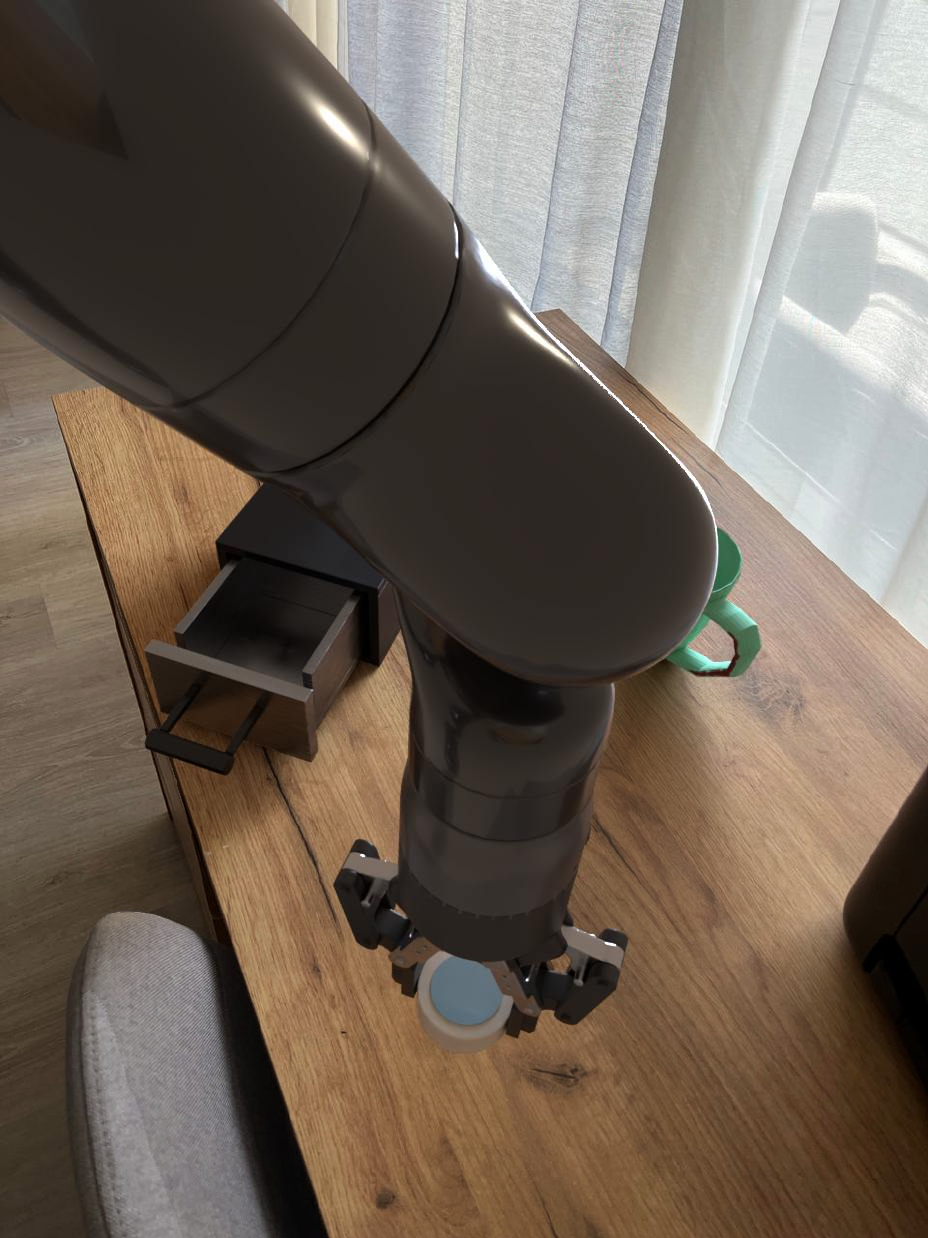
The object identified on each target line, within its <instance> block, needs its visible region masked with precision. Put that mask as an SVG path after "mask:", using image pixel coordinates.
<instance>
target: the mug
mask: <svg viewBox="0 0 928 1238" xmlns="http://www.w3.org/2000/svg"><path fill="white" fill-rule="evenodd" d="M716 530H717V537H718V564H717V571H716V577H715V581H714V585H713V589H712V591H711V594H710V597H709V600H708V602H707V604H706V607H705V609H704V611H703V613H702V614H701V616H700V618H699V620H698V621H697V623H696V624H695V626H694V627H693V628H692V630H691V631H690V633H689V634H688V635H687V636H686V637H685V639H684V640H683V641H682V642H681V643H680V644H679V645H678V646H677V647H676V648H675V649H674V650H673V651H672V652H671V653H670V654H668V655H667V656H666V657H665V658H664V659H662V660H661V661H663V660H666V661H668V662H671V663H672V664H674V665H675V666H677V667H679V668H681V669H683V670H684V671H686V672H687V673H689V674H691V675H693V676H695V677H696V678H737V677H740V676H741V675H743V674H744V673H745V672H746V671H748V669H749V667H750V666H751V664H752V663H753V661H754V660H755V658H756V656H757V655H758V653H760V650H761V649H762V647H763V642H762V639H761V634H760V629H759V625H758V623H756V622H755V621H754V620H753V619H752V618H751V616H749V615H748V614H747V613H746V612H745V611H743V610H742V609H741V608H740V607H739V606H736V605H735V604H734V603H732V602H731V601H730V600H729V599H727V598H728V596H729V595H730V594H731V592H732V591H733V589H734V587H735V586H736V585H737V583H738V581H739V580H740V578H741V574H742V572H743V571H742V570H743V561H744V558H743V556H742V553H741V551H740V550H741V549H740V547H739V545H738V544H737V543H736V542H735V540H734V539H733V537H731V536H730V534H729V533H727V532H726V531H725V530H724V529H722V528H721V527H719V526H718V525H716ZM711 621H713V622H714V623H716V624H717V625H718V626H719V627H720V628H722V630H723V631H724V632H725V633H726V634H727V635H728V636H729V637H730V638H731V639H732V643H733V650H734V654H733V656H732V658H731V660H729V661H715V660H713V659H711V658H709V657H706V656H704V655H703V654H701V653H699V652H697V651H695V650H693V649H691V648H689V647H688V646H689V645H690V644H691V643H692V642H693V641H694V640H695V639H696V638H697V637H698V636H699V634H700V633H702V631H703V630H704V629H705V628H706V627H707V626H708V625H709V623H710V622H711Z"/></svg>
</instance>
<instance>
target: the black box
mask: <svg viewBox="0 0 928 1238" xmlns="http://www.w3.org/2000/svg"><path fill="white" fill-rule="evenodd" d="M214 542H215V543H214V544H215V550H216V556H217V560H218V561H217V562H218V566H219V573H220V572H221V570H222V569H223V568H224V567H225V565H226V564H227V563H228V562H229V560H230V559H231V558H232V557H233V555H234V554H235V555H238V556H242V557H245V558H249V559H252V560H255V561H259V562H262V563H266V564H269V565H272V566H276V567H279V568H283V569H286V570H289V571H293V572H296V573H300V574H303V575H307V576H310V577H313V578H317V579H320V580H324V581H327V582H330V583H334V584H337V585H341V586H344V587H347V588H351V589H354V590H358V591H361V592H364V593H368V605H369V641H370V642H369V644H368V646H367V647H366V649H365V651H364V653H363V654H362V656H361V658H360V659H359V661H358V662H361V663H364V664H367V665H370V666H374V667H377V668H380V667H381V666H382V663H383V661H384V660H385V658H386V656H387V655H388V653H389V651H390V649H391V648H392V646H393V644H394V643H395V641H396V639H397V638H398V635H399V634H400V632H401V629H400V624H399V620H398V615H397V610H396V605H395V600H394V595H393V590H392V585H391V584H390V583H389V582H388V581H387V580H385V579H384V578H383V577H382V576H381V575H380V574H378V573H377V572H376V571H375V570H374V569H373V568H372V567H371V566H370V565H369V564H367V563H366V562H365V561H364V560H363V559H362V558H361V557H360V556H359V555H358V554H357V553H356V552H355V551H354V550H353V549H352V548H351V547H350V546H349V545H348V544H347V543H346V542H345V541H344V540H343V539H341V538H340V537H339V536H338V535H337V534H336V533H335V532H334V531H333V530H331V529H330V528H329V527H328V526H327V525H326V524H324V523H323V522H322V521H321V520H320V519H318V518H317V517H316V516H315V515H313V514H312V513H311V512H310V511H309V510H307V509H306V508H305V507H303V506H302V505H300V504H299V503H298V502H296V501H295V500H293V499H291V498H290V497H288V496H287V495H285V494H284V493H282V492H280V491H278V490H276V489H274V488H272V487H270V486H268V485H266V484H264V483H262V484H261V485H260V487H258V489H257V490H256V491H255V493H254V494H253V495H252V496H251V497H250V498H249V500H248V501H247V502H246V504H244V506H243V507H242V508H241V509H240V511H239V512H238V513H237V514H236V515H235V516H234V518H233V519H232V520H231V521H230V522H229V524H228V525H227V526H226V527H225V529H224V530H223V531H222V532H221V533H220V535H219V536H218V537H217V538H216V540H214Z"/></svg>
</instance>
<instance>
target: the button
mask: <svg viewBox="0 0 928 1238" xmlns="http://www.w3.org/2000/svg"><path fill="white" fill-rule="evenodd" d="M513 1002H514V1000H513V998H512V996H507V995H503V994H502V993H501V991H500V989H499V987H498V985H497V983H496V981H495V979H494V977H493V975H492V973H491V971H490V969H487V968H485V967H484V966H483V965H482V964H480V963H478V962H476V961H470V960H465V959H462V958H458V957H455V956H453V955H451V954H448V953H446V952H444V951H443V952H441V951H439V952H438V953H436V954H435V955H434V956H432V957H431V958H430V959H428V960H427V961H426V963H425V964H424V966H423V968H422V971H421V973H420V976H419V978H418V983H417V992H416V995H415V1009H416V1016H417V1019H418V1021H419V1024H420V1026H421V1028H422V1030H423V1032H424V1033H425V1035H426V1036H427V1038H429V1039H430V1040H431V1041H432V1043H434V1044H435V1045H437V1046H438V1047H440V1048H442V1049H443V1050H446V1051H448V1052H451V1053H454V1054H460V1055H471V1054H472V1055H473V1054H477V1053H481V1052H484V1051H486V1050H489V1049H490V1048H492V1047H493V1046H494V1045H496V1044H497V1043H498V1042H499V1041H500V1040H501V1039H502V1038H503V1037H504V1036H505V1035H506V1034H505V1033H506V1029H507V1025H508V1021H509V1016H510V1012H511V1008H512V1005H513Z"/></svg>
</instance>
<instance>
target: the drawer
mask: <svg viewBox="0 0 928 1238" xmlns="http://www.w3.org/2000/svg"><path fill="white" fill-rule="evenodd" d="M173 636H174V640H175V644H176V645H174V644H171V643H167V642H164V641H160V640H159V639H154V638H152V639H151V640H150V641H149V643H148V644H147V645H146V647H144V649H143V651H144V652H143V653H144V656H145V660H146V663H147V667H148V671H149V674H150V677H151V681H152V684H153V688H154V691H155V692H154V693H155V695H156V699H157V702H158V706H159V710H160V713H162V714H165V715H168V716H167V717H166V718H165V720H164V721H163V722H162V723H161V725H160V726H159V728H156V727H155V728H152V729H150V730H149V731H148V732H147V734H146V737H145V740H144V747H145V749H146V750H147V751H151V752H153V753H157V754H159V755H163V756H164V757H168V758H171V759H173V760H177V761H179V762H182V763H186V764H188V765H191V766H195V767H198V768H200V769H203V770H206V771H208V772H212V773H214V774H216V775H217V774H218V775H220V776H223V777H227V776H228V775H230V773H231V772H232V770H233V768H234V766H235V762H236V758H235V757H236V755H237V753H238V751H239V750H240V749H241V747H242V745H243V743H244V742H248V743H251V744H254V745H257V746H259V747H263V748H266V749H269V750H271V751H274V752H278V753H281V754H284V755H286V756H289V757H292V758H296V759H297V760H298V759H299V760H302V761H305V762H308V763H310V764H311V763H313V761H314V759H315V757H316V756H317V754H318V753H319V743H318V733H317V731H318V730H319V729H320V727H321V726H322V724H323V722H324V720H325V719H326V717H327V715H328V714H329V712H330V710H331V708H332V707H333V705H334V703H335V702H336V700H337V699H338V697H339V695H340V693H341V691H342V690H343V688H344V686H345V685H346V683H347V681H348V680H349V678H350V676H351V674H352V673H353V671H354V669H355V668H356V666H357V664H358V663H359V662H360V661H359V659H360V658H361V656H362V654H363V653H364V651H365V649H366V647H367V646H368V644H369V642H370V641H369V605H368V593H364V592H361V591H358V590H354V589H351V588H347V587H344V586H341V585H337V584H334V583H330V582H327V581H324V580H320V579H317V578H313V577H310V576H307V575H303V574H300V573H296V572H293V571H289V570H286V569H283V568H279V567H276V566H272V565H269V564H266V563H262V562H259V561H255V560H252V559H249V558H245V557H242V556H238V555H235V554H234V555H233V557H232V558H231V559H230V560H229V562H228V563H227V564H226V565H225V567H224V568H223V569H222V570H221V572H220V571H219V573H218V574H217V575H216V577H215V578H214V579H213V580H212V582H211V583H210V584H209V585H208V587H207V588H206V589H205V590H204V592H203V593H202V594H201V595H200V596H199V598H198V599H197V600H196V601H195V603H194V604H193V606H191V608H190V609H189V610H188V611H187V613H186V614H185V615H184V617H183V618H181V620H180V622H178V624H177V625H176V627H175V628H174V629H173ZM180 720H182V721H185V722H189V723H191V724H195V725H198V726H200V727H204V728H206V729H208V730H209V729H210V730H213V731H215V732H218V733H221V734H225V735H227V736H229V737H232V739H231V740H230V742H229V743H228V745H227V746H226V747H225V749H224V751H223V750H221V749H218V748H215V747H212V746H209V745H207V744H203V743H200V742H197V741H195V740H192V739H189V738H185V737H183V736H180V735H176V734H175V733H171V732H172V731H173V729H174V728H175V726H176V725H177V724H178V722H179V721H180Z"/></svg>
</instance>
